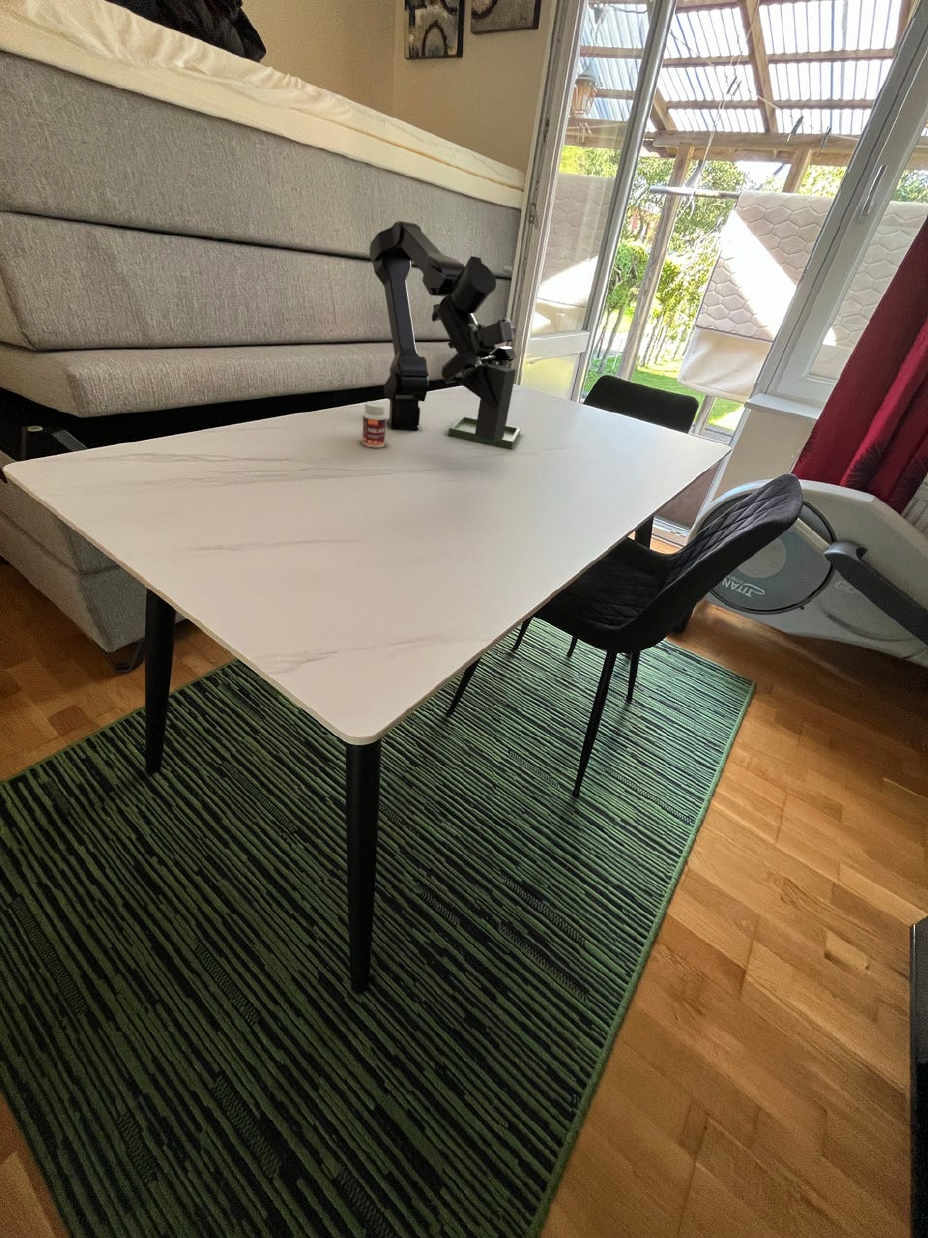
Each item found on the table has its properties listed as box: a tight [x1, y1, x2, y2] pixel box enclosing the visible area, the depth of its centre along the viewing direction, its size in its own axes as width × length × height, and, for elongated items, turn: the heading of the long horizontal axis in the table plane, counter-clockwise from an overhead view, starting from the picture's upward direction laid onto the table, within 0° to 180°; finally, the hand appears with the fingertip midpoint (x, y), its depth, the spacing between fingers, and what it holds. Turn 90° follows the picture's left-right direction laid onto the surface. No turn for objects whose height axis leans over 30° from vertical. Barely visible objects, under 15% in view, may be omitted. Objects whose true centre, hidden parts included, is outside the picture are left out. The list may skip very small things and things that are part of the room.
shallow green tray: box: [448, 415, 522, 450], centre depth 127 cm, size 16×13×2 cm
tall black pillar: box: [475, 364, 517, 442], centre depth 101 cm, size 4×4×13 cm
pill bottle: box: [362, 400, 387, 449], centre depth 109 cm, size 5×5×8 cm
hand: (500, 404), depth 100 cm, fingers closed on tall black pillar, 4 cm apart
